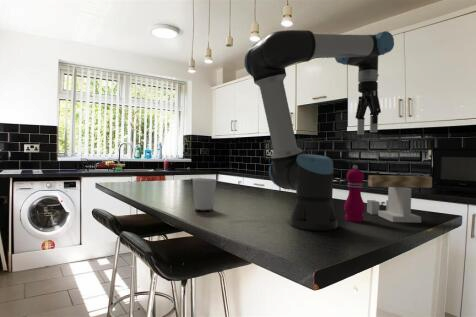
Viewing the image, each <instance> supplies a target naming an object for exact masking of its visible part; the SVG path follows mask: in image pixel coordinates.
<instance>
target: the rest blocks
mask: <svg viewBox="0 0 476 317" xmlns="http://www.w3.org/2000/svg"><path fill="white" fill-rule="evenodd" d="M385 204H386V205H385V207H386V208H385V211H388V199H387V200H386V203H385ZM380 207H381V206H380V201H377V200H374V199H373V200H372V199H367V200H366V213H368V214H370V215H378V211H380Z"/></svg>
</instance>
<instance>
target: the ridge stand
mask: <svg viewBox="0 0 476 317" xmlns="http://www.w3.org/2000/svg"><path fill="white" fill-rule="evenodd" d="M387 188H388V194H387V198H388V199H387V200H388V211H386V210H379V211H378V214H377V216H379V217H381V218H383V219H385V220H388V221H390V222H392V223H422V216H419V215H418V214H414V213H412V212H411V211H412V187H387Z"/></svg>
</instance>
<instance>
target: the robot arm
mask: <svg viewBox="0 0 476 317" xmlns="http://www.w3.org/2000/svg"><path fill="white" fill-rule="evenodd" d="M394 46H395V39H394V35H393V34H392V33H391V32H389V31H385V30H384V31H382V32H378V33H376V34H337V33H336V34H334V33H331V34H329V33H327V34H326V33H314V32H313V31H311V30H308V29H307V30H306V29H305V30H304V29H300V30H299V29H296V30H295V29H293V30H292V29H291V30H290V29H287V30H279V31H275V32H271V33H270V34H268V35H266V37H264V38H262V39H261V40H260V41H259V40H258V42H255V43H254V44H253V45H252V46H250V47H249V48H248V49H247V51H246V53H245V55H244V68H245V70H246V73H247V74H249V75H250V77H251V78H253V82H254V83H253V84H255V85H256V86H258V87H259V91H260V96H261V99H262V100H261V101H262V104H263V108H264V113H265V118H266V122H267V127H268V132H269V136H270V141H271V145H272V149H273V152H272V154H271V156H270V159H271V163H270V165H269V167H268V174H269V178H270V180H271V182H272V183H273V184H274V185H275V186H277V187H279V188H281V189H283V190H291V191H296V192H295V203H294V205H293V206H294V207H293V210H292V212H291V215H290V221H289V222H290V225H291V226H292V227H294V228H297V229H301V230H307V231H309V230H310V231H330V230H331V231H332V230H335V229H338V218H337V215H336V212H335V208H334V204H333V192H334V191H333V188H334V185H333V184H334V165H333V164H334V163H333V162H334V161H333V159H332V158H330V157H328V156H325V155H320V154H312V153H311V154H309V153H303V150H302V149H301V148H299V147H298V146H297V141H296V135H295V131H294V126H293V122H292V117H291V116H292V115H291V110H290V107H289V104H288V98H287V92H286V88H285V84H284V80H285V78H286V77H287V72H286V68H287V67H288V66H292V65H295V64H297V63H302V62H303V63H306V62H310V61H311V60H312V59H326V58H327V59H329V58H330V59H334V60H335V62H336V63H337V64H342V65H346V66H353V67H358V75H357V76H358V77H357V79H358V81H357V82H358V84H357V86H358V88H357V90H358V93H360V94H361V96H360V95H359V96H358V102H357V108H356V112H355V120H357V124H356V125H357V126H356V127H357V128H356V130H357V134H356V135H365V120H366V118H365V115H366V112H367V109H368V110H369V112H370V114H369V121H370V122H369V133H378V128H379V126H378V124H379V114H381V113H382V111H381V110H382V109H381V105H380V104H381V103H380V101H379V96H378V94H379V92H378V91H379V90H378V89H379V87H378V84H379V83H378V82H377V81H379V80H378V79H379V78H378V77H380V74H379V56H384V55H385V54H388V53H390V52H392V51H393V49H394Z"/></svg>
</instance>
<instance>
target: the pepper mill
mask: <svg viewBox="0 0 476 317" xmlns="http://www.w3.org/2000/svg"><path fill="white" fill-rule="evenodd" d="M358 168H359V167H358V165H356V164H354V165H353V166H352V169H350V170H348V172H346V174H345V175H346V176H345V178H346V180H347V181H348V182H347V188H348V196H347V198H346V200H345V202H344V204H343V210H344V211H345V215H344V220H345V221H347V222H352V223H361V222H364V215H363V214H365V211H366V205H365V202H364V200H363V198H362V188H363V183H362V182H363V181H364V179H365V175H364V172H363V171H362V170H360V169H358Z"/></svg>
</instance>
